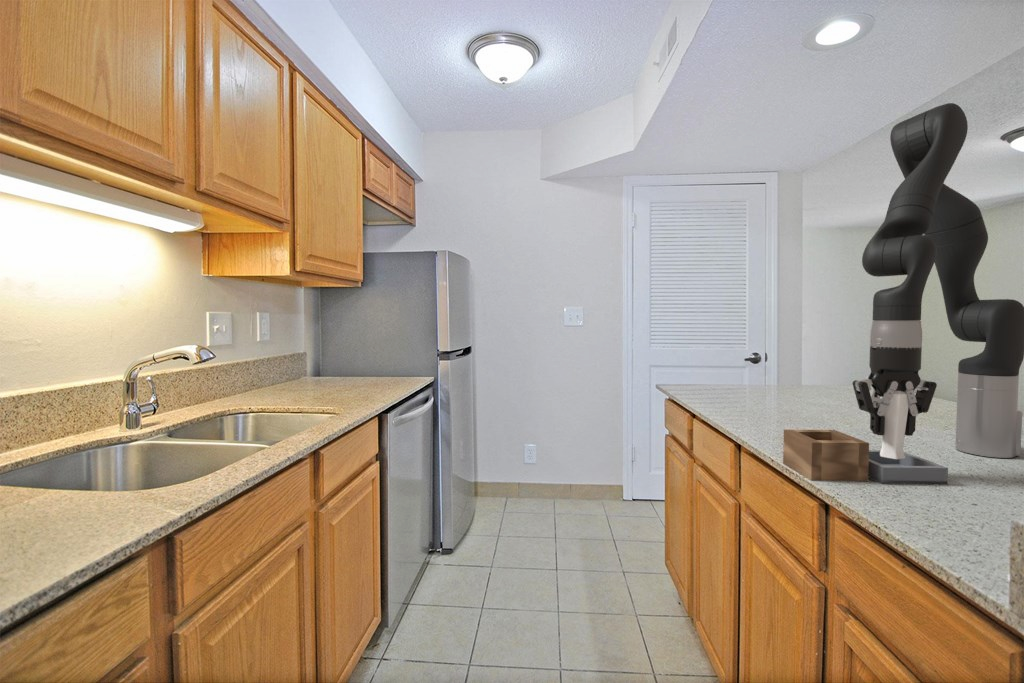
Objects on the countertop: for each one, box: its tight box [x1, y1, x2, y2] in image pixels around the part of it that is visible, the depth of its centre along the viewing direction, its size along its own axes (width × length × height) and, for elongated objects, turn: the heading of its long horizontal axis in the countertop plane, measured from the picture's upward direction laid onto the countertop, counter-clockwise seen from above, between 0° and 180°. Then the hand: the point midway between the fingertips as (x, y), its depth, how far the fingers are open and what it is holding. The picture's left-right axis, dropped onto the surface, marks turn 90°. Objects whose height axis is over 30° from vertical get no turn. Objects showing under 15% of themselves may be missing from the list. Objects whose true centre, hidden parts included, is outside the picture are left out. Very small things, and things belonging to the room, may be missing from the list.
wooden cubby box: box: [782, 429, 870, 482], centre depth 90 cm, size 10×10×7 cm
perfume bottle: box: [880, 390, 908, 459], centre depth 88 cm, size 5×4×15 cm
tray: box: [868, 449, 949, 486], centre depth 89 cm, size 11×11×3 cm
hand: (892, 434), depth 88 cm, fingers closed on perfume bottle, 4 cm apart
